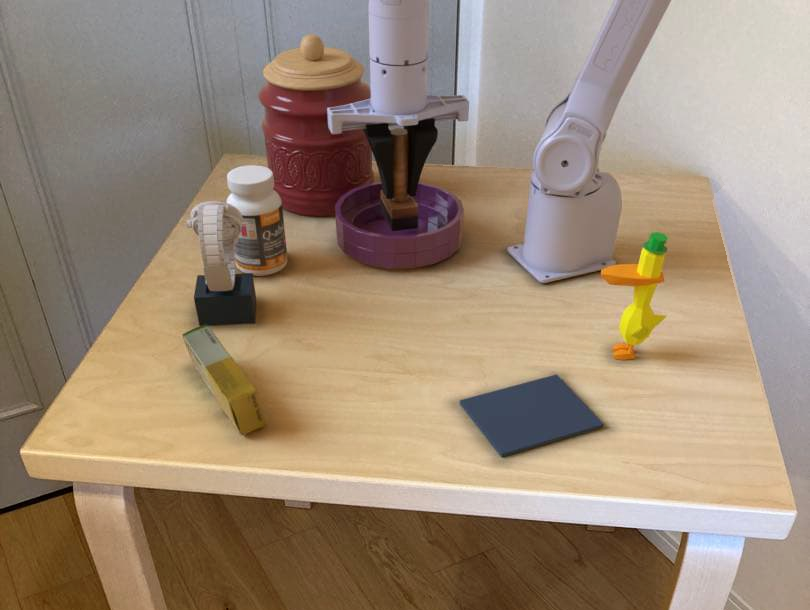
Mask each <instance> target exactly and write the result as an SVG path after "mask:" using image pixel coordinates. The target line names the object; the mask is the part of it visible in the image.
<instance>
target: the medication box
mask: <svg viewBox="0 0 810 610" xmlns="http://www.w3.org/2000/svg"><path fill="white" fill-rule="evenodd" d="M182 339H183V341H184V344H185V346H186V350H187V351H188V355H189V357H190V360H191V362H192V364H193V367H194V369H196V372H197V373H198V374H199V376H200V377H201V379H202V380H203V382H204V383H205V385H206V386H207V388H208V389H209V391H210V392H211V394H212V395H213V396H214V398H215V399H216V401H217V402H218V404H219V406H220V407H221V408H222V410H223V411H224V413H225V414H226V416H227V418H228V419H229V421H230V422H231V423H232V424H233V426H234V427H235V429H236V431H237V432H238V433H239V434H240V436H244V435H246V434H249V433H251V432H253V431H255V430H257V429H260V428H262V427H264V426H266V425H267V424H268V423H267V420H266V417H265V413H264V411H263V407H262V403H261V400H260V398H259V395H258V394H259V393H258V391H257V389H256V388H255V386H254V385H253V384H252V383H251V381H250V380H249V379H248V377H247V376H246V374H245V373H244V372H243V370H242V369H241V368H240V366H239V365H238V364H237V362H236V361H235V359H233V357H232V356H231V354H230V353H229V352H228V350H227V349H226V348H225V346H224V345H223V344H222V342H221V341H220V340H219V338H218V337H217V335H216V334H215V333H214V331H213V330H212V329H211V328H210V326H209V325H207V324H206V325H203V326H197V327H195V328H192V329H189V330H187V331H186V332H184V333H182Z"/></svg>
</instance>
